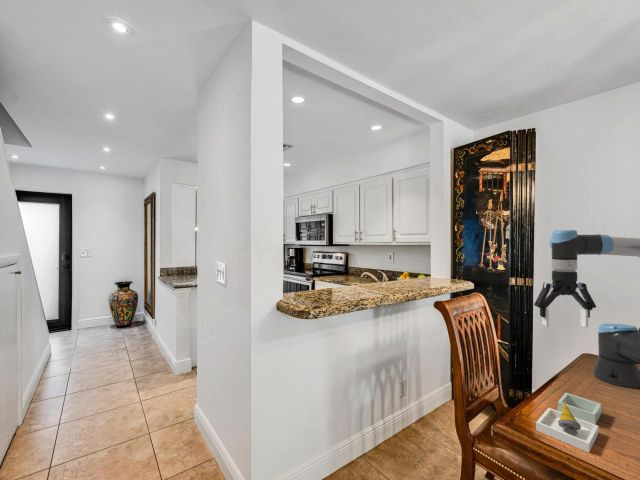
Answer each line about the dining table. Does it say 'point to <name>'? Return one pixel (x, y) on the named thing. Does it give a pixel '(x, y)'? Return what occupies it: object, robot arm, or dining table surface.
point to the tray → (552, 428)
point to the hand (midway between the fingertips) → (564, 325)
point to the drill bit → (568, 421)
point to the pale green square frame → (581, 403)
